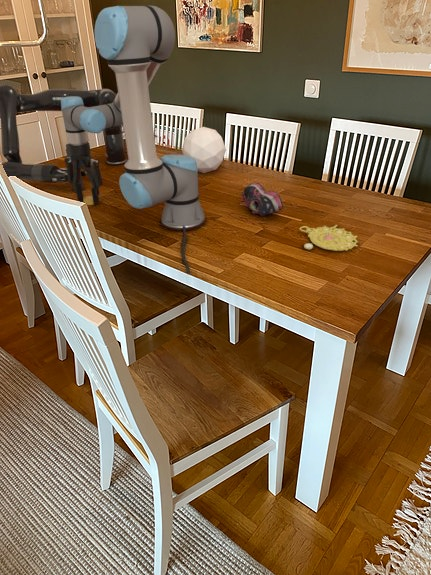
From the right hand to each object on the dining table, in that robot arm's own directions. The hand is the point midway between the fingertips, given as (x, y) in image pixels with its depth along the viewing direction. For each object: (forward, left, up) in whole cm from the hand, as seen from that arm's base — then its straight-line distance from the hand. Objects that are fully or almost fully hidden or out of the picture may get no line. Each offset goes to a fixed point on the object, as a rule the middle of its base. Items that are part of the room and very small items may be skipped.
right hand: (88, 201), depth 174 cm
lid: (0, -1, +1) cm, 2 cm away
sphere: (+28, -50, 0) cm, 58 cm away
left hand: (+16, +3, +6) cm, 17 cm away
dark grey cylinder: (+17, +5, 0) cm, 18 cm away
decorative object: (-50, -80, 0) cm, 94 cm away
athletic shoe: (-22, -63, 0) cm, 67 cm away
